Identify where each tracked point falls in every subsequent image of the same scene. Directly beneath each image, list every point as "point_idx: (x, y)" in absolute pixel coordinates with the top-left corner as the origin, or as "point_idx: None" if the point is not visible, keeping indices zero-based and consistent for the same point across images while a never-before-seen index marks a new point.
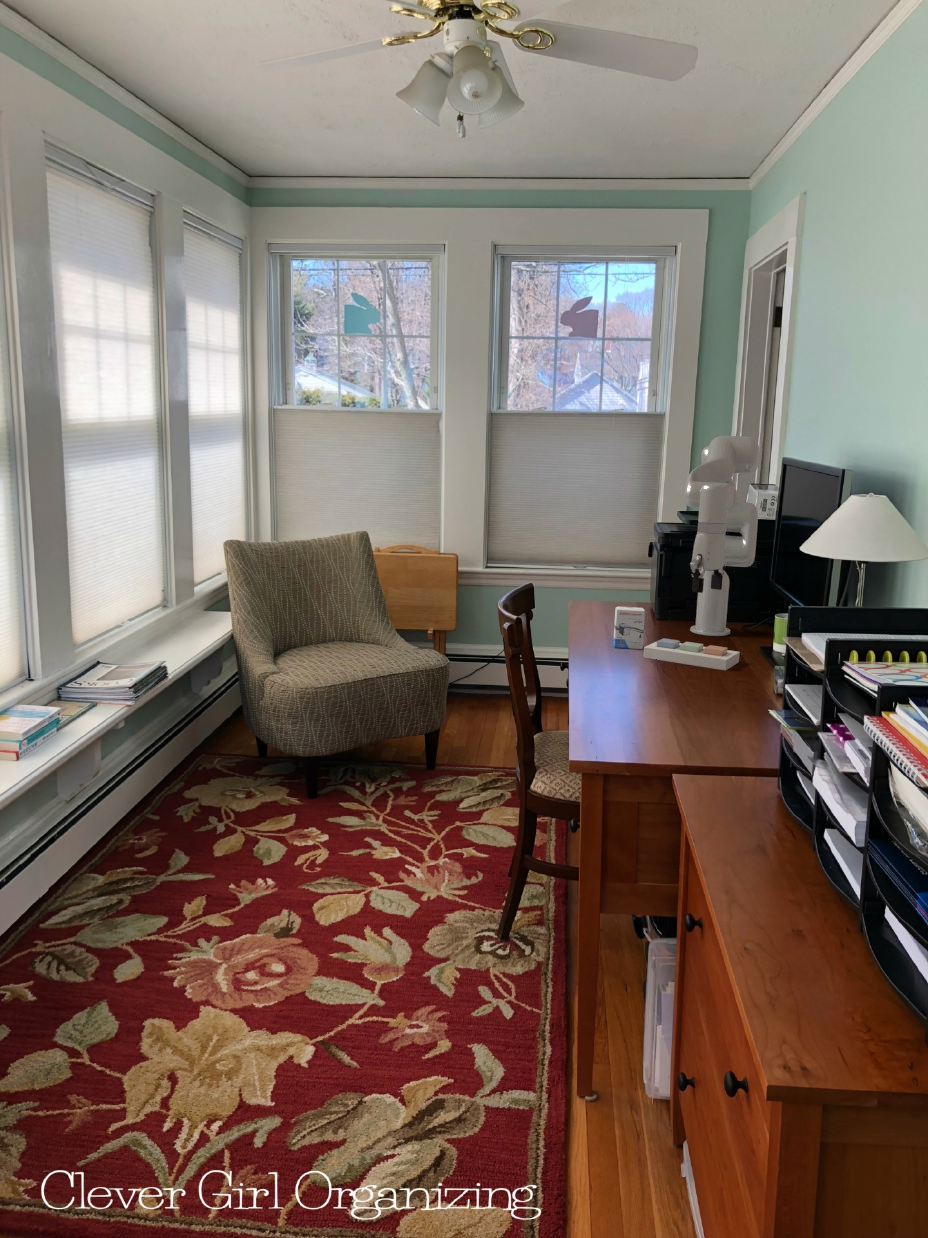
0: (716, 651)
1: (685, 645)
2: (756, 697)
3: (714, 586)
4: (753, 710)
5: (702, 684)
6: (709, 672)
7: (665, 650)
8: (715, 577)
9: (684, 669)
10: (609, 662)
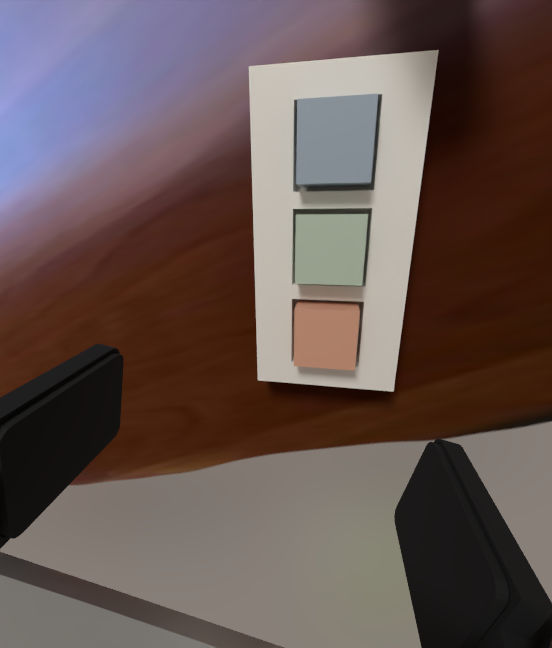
0: (294, 347)
1: (295, 235)
2: (99, 456)
3: (421, 488)
4: None
5: None
6: (217, 335)
7: (252, 171)
8: (457, 601)
9: (201, 269)
10: (110, 12)
